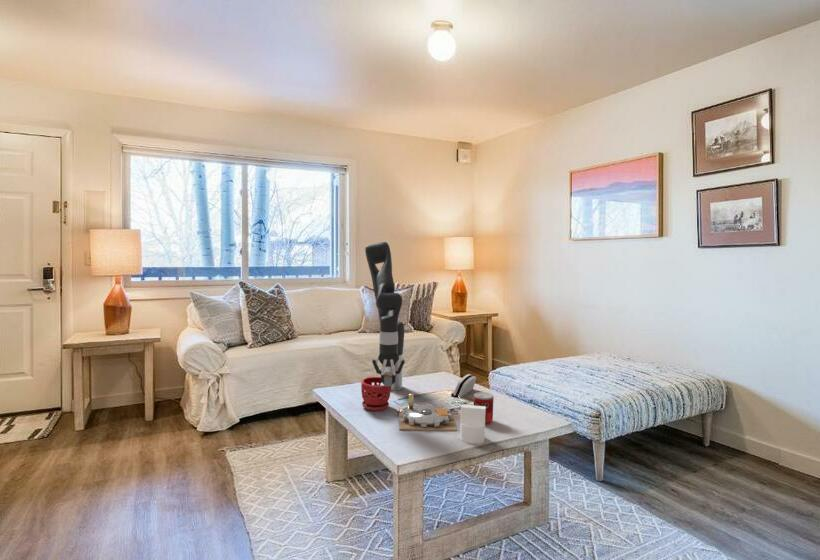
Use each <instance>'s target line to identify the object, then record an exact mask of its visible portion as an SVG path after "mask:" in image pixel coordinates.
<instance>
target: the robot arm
mask: <svg viewBox="0 0 820 560" xmlns="http://www.w3.org/2000/svg"><path fill="white" fill-rule="evenodd" d="M364 251H365V256H366V261H367V265H368V268H369V273H370V276H371V283H372V286H373V292H374V293H373V294H374V298H375V305H376V309H377V312H378V319H379V327H380V328H379V330H380V331H379V339H378V341H379V346H378V347H379V348H378V349H379V353H378V357H376V358H373V359H371V363H372V365H373V368H374V370H375V372H376V374H379V375H380V377H381V384H382V385H384V373H385V372H392V386H391V391H400V390H402V388H403V367H404V365H405V361H406V360H405V359H404V358H403V357H404V356H403V353H404V345H405V344H404V342H405V340H404V339H405V324H404V323H403V322H401V321H399V316H400V312H401V308H402V306H403V297H402V295H401V294H400V293H399V292H395V289H396V287H395V286H396V285H395V282H394V277H393V263H392V254H391V253H392V252H391V249H390V245H389V243H388V242H386V241H380V242H376V243H369V244H367V245H365V248H364ZM378 264H382V265H381V267H380V269H378V267H377V265H378ZM390 311H392V312H391V313H390ZM389 313H390V314H389ZM379 363H380V364H381V369H380V367H379V365H378V364H379Z"/></svg>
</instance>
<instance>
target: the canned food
mask: <svg viewBox="0 0 820 560" xmlns="http://www.w3.org/2000/svg"><path fill="white" fill-rule="evenodd" d="M473 406H485V407H486V413H485V426H486V425H490V424H493V423H492V422H493V419H494V418H493V417H494V394H492V393H490V392H488V391H487V392H486V391H478V392H475V393H474V394H473Z"/></svg>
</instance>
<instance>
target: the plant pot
mask: <svg viewBox="0 0 820 560" xmlns="http://www.w3.org/2000/svg"><path fill="white" fill-rule="evenodd" d="M360 387H361V388H360V389H361V396H362V397H361V398H362V400H363V401H362V402H361V406H362V407H363V408H364V409H365V410H367V411H372V412H373V411H379V412H380V411H383V410H385V409H387V408H388V407H389V404H390V402H389V399H390V398H391V397H390V396H391V392H392V390H391V386H384V384H382V383H381V376H369V377H365V378H363V379H362V380H361V385H360Z"/></svg>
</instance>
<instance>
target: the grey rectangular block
mask: <svg viewBox="0 0 820 560" xmlns="http://www.w3.org/2000/svg"><path fill="white" fill-rule="evenodd" d="M383 385H384V386H392V372H385V373H384V384H383Z"/></svg>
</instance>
